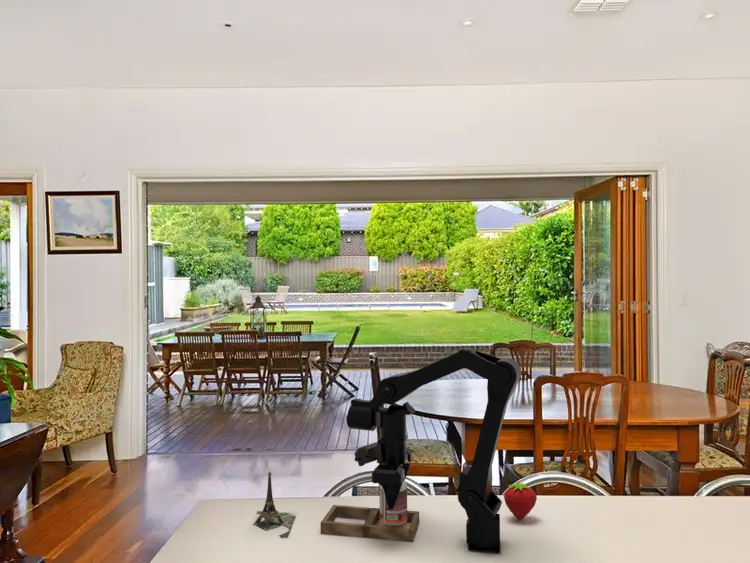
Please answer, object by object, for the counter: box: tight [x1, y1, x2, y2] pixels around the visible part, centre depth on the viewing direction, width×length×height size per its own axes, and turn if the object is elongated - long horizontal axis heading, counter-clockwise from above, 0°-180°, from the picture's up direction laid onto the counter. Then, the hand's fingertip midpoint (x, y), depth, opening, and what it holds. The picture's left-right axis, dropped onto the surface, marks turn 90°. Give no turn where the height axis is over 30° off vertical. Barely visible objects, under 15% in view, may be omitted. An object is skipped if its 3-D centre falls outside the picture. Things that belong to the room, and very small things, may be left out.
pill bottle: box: [378, 469, 408, 526], centre depth 128 cm, size 6×6×11 cm
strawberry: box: [503, 479, 538, 521], centre depth 133 cm, size 6×8×10 cm
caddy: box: [320, 504, 420, 543], centre depth 128 cm, size 20×10×2 cm, turn 79°
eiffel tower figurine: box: [252, 471, 297, 539], centre depth 131 cm, size 15×10×13 cm
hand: (393, 503), depth 128 cm, fingers closed on pill bottle, 6 cm apart
